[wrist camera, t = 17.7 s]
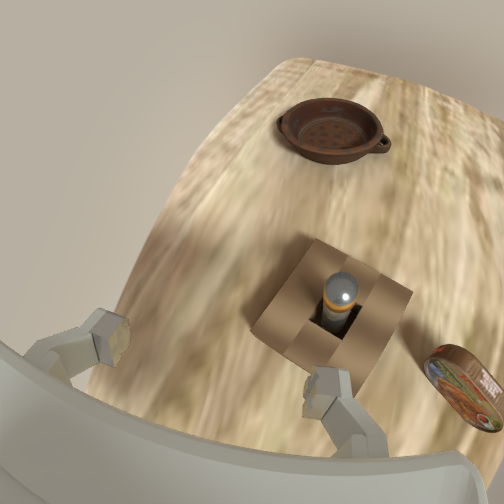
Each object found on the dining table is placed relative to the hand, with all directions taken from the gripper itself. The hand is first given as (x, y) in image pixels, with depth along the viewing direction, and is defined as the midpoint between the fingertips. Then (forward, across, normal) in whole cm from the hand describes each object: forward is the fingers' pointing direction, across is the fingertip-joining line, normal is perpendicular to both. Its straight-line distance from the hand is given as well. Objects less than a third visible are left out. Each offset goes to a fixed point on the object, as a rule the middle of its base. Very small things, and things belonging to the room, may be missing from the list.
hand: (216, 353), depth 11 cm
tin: (+11, +29, -14) cm, 34 cm away
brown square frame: (+20, +11, -12) cm, 26 cm away
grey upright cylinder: (+20, +11, -12) cm, 26 cm away
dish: (+47, +9, +8) cm, 48 cm away
